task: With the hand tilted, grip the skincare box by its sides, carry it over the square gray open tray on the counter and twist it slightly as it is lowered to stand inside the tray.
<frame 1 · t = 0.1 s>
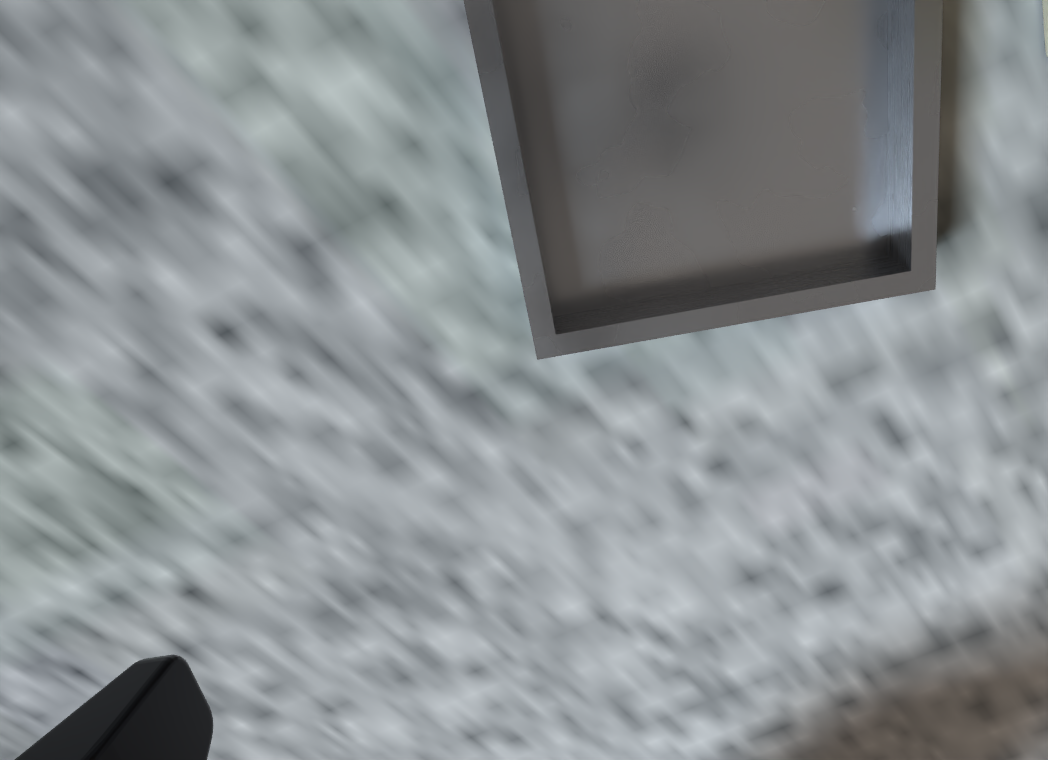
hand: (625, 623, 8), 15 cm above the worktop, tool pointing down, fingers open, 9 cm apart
square gray open tray: (698, 113, 19), on the worktop
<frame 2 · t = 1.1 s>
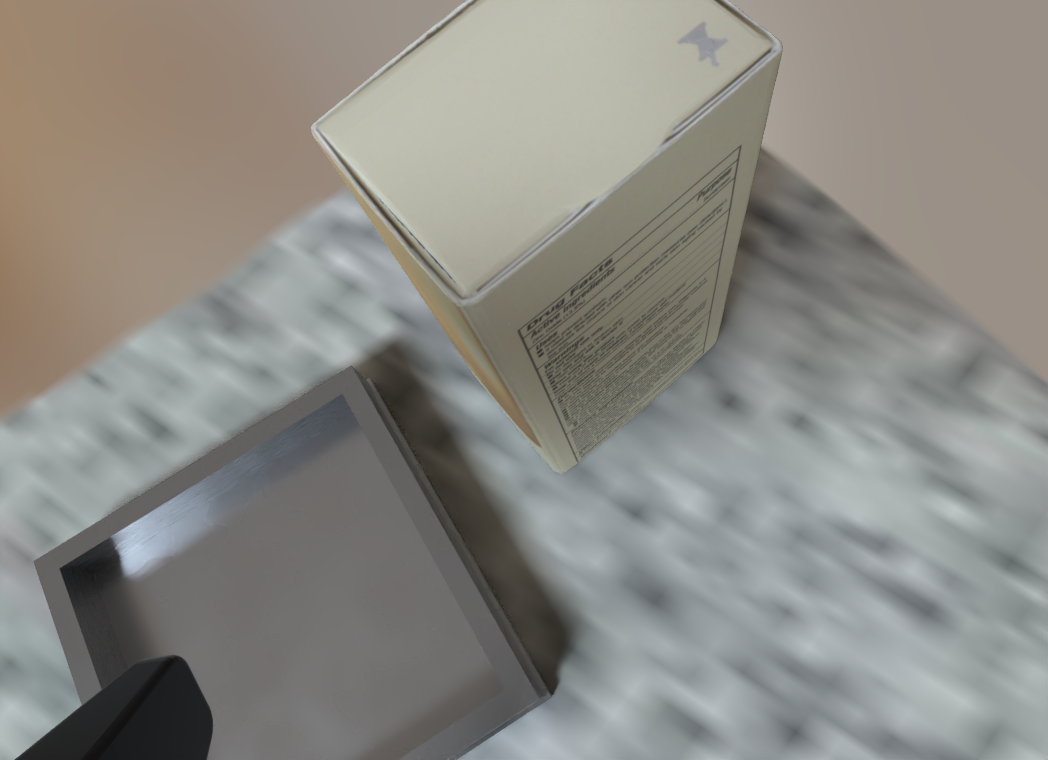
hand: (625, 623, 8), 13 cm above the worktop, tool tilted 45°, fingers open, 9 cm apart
skincare box: (589, 365, 23), on the worktop
square gray open tray: (296, 626, 21), on the worktop
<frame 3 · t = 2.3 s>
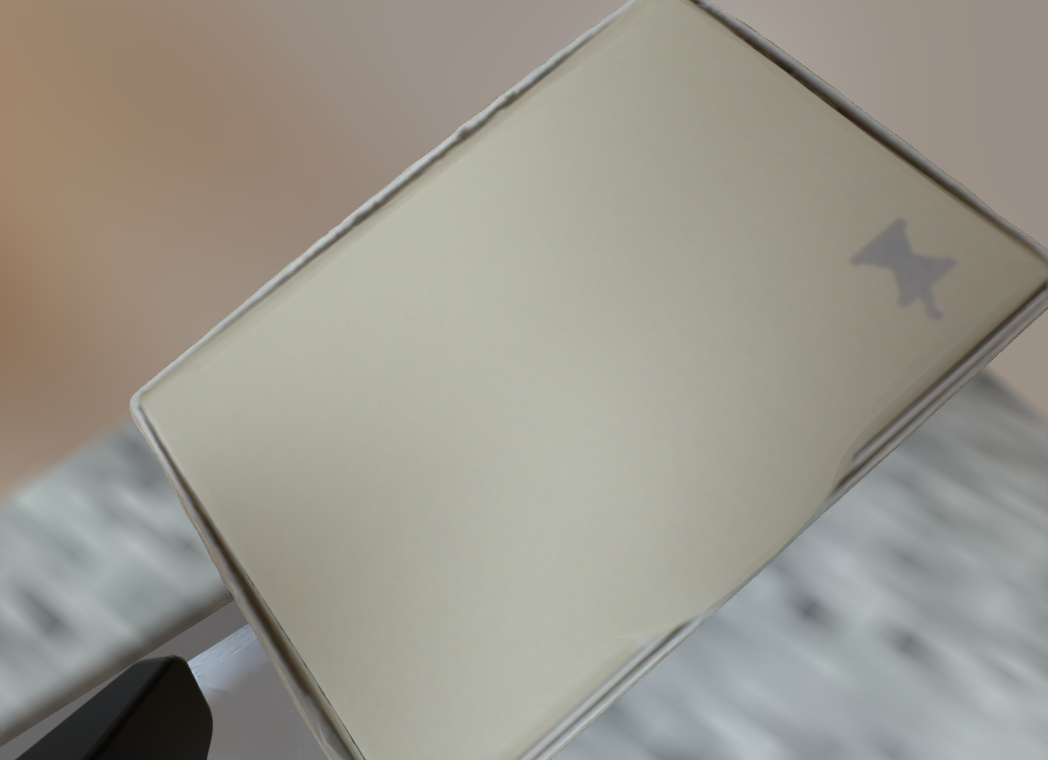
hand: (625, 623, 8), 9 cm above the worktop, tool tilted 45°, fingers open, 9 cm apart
skincare box: (617, 547, 17), on the worktop
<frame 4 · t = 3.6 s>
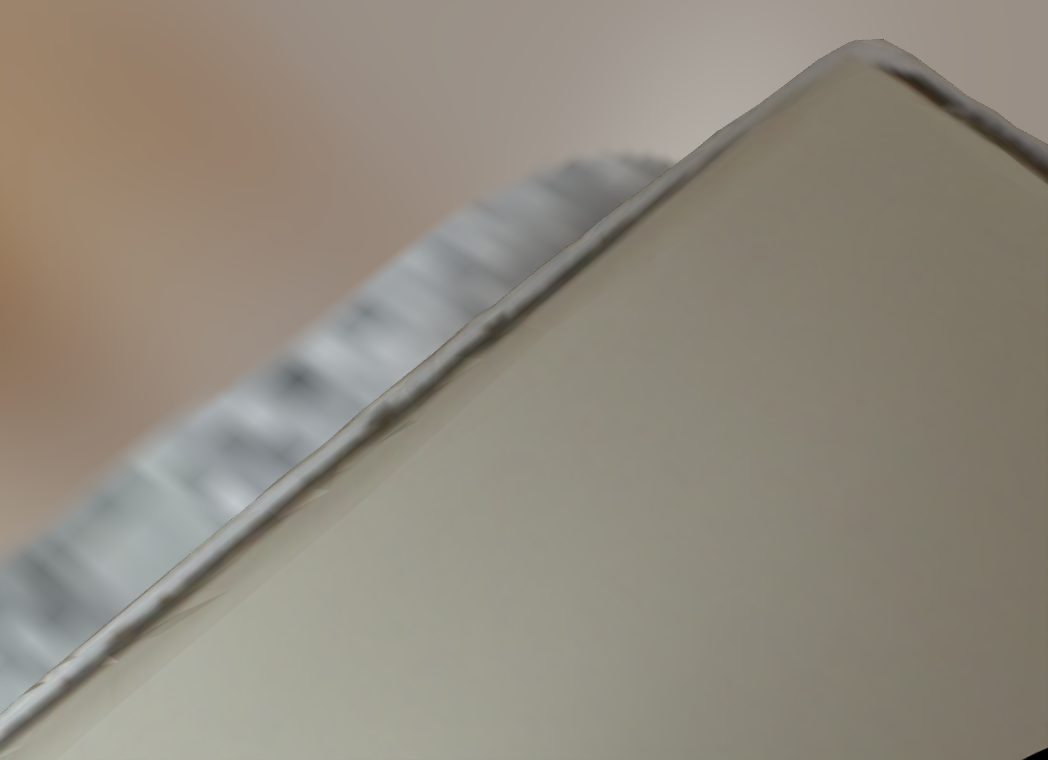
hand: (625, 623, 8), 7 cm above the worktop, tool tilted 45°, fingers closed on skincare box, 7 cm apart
skincare box: (643, 720, 13), on the worktop, touching gripper
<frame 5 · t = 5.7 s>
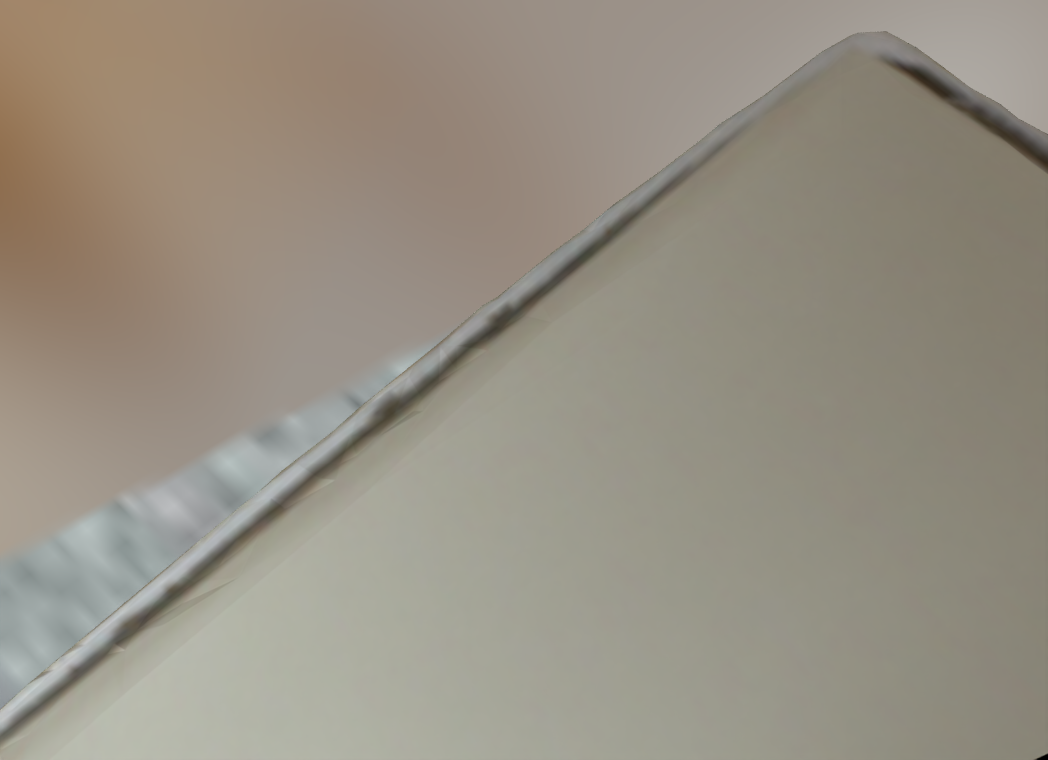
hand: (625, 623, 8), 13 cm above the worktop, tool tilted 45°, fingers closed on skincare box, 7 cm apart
skincare box: (643, 716, 13), point 6 cm above the worktop, touching gripper
when the fingers open (8 cm above the worktop, at t = 7.6 s): skincare box drops 1 cm, resting on square gray open tray.
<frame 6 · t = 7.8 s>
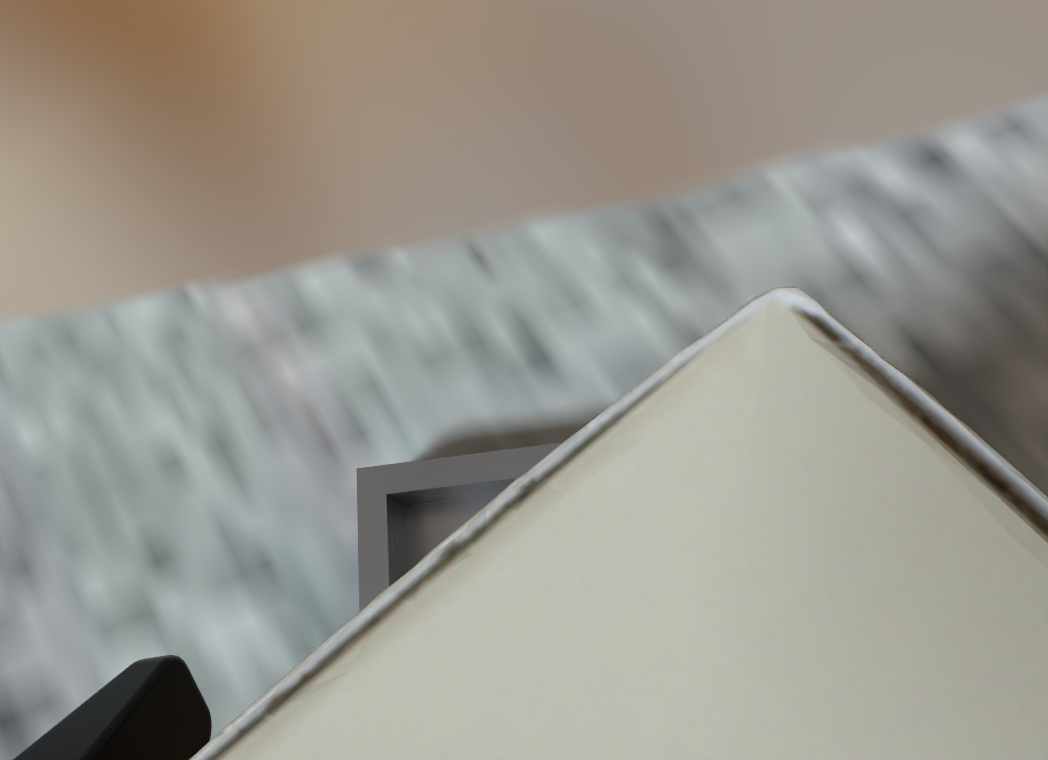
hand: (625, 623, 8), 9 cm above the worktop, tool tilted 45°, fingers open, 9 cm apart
skincare box: (635, 723, 15), resting on square gray open tray
square gray open tray: (644, 710, 15), on the worktop
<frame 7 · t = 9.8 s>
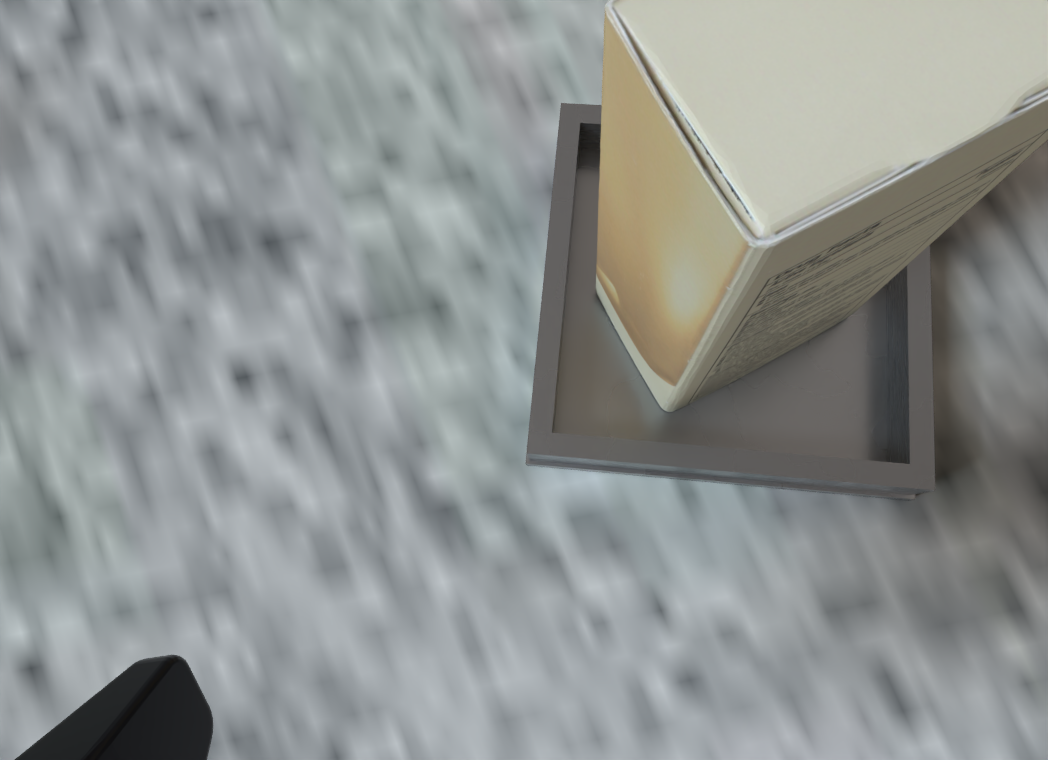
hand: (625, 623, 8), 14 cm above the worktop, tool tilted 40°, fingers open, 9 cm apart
skincare box: (715, 307, 22), resting on square gray open tray
square gray open tray: (721, 303, 22), on the worktop
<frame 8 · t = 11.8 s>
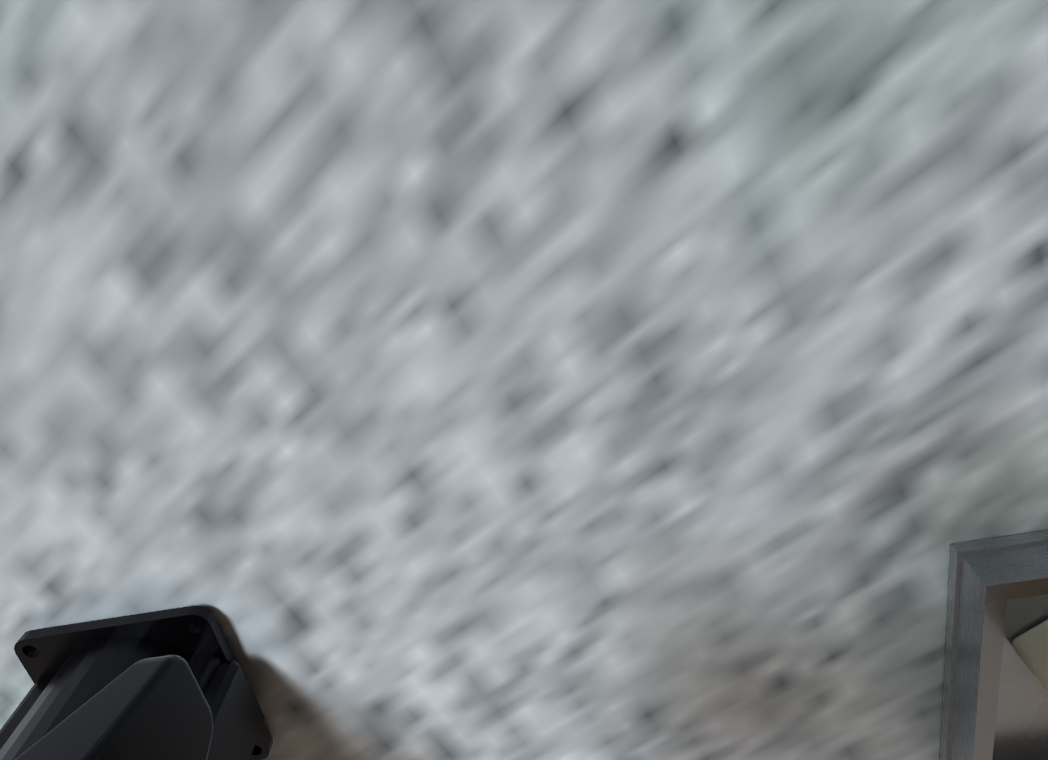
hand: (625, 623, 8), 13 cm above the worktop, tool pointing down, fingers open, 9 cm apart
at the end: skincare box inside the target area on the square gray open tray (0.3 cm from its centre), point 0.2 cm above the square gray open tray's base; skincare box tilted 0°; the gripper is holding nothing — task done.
